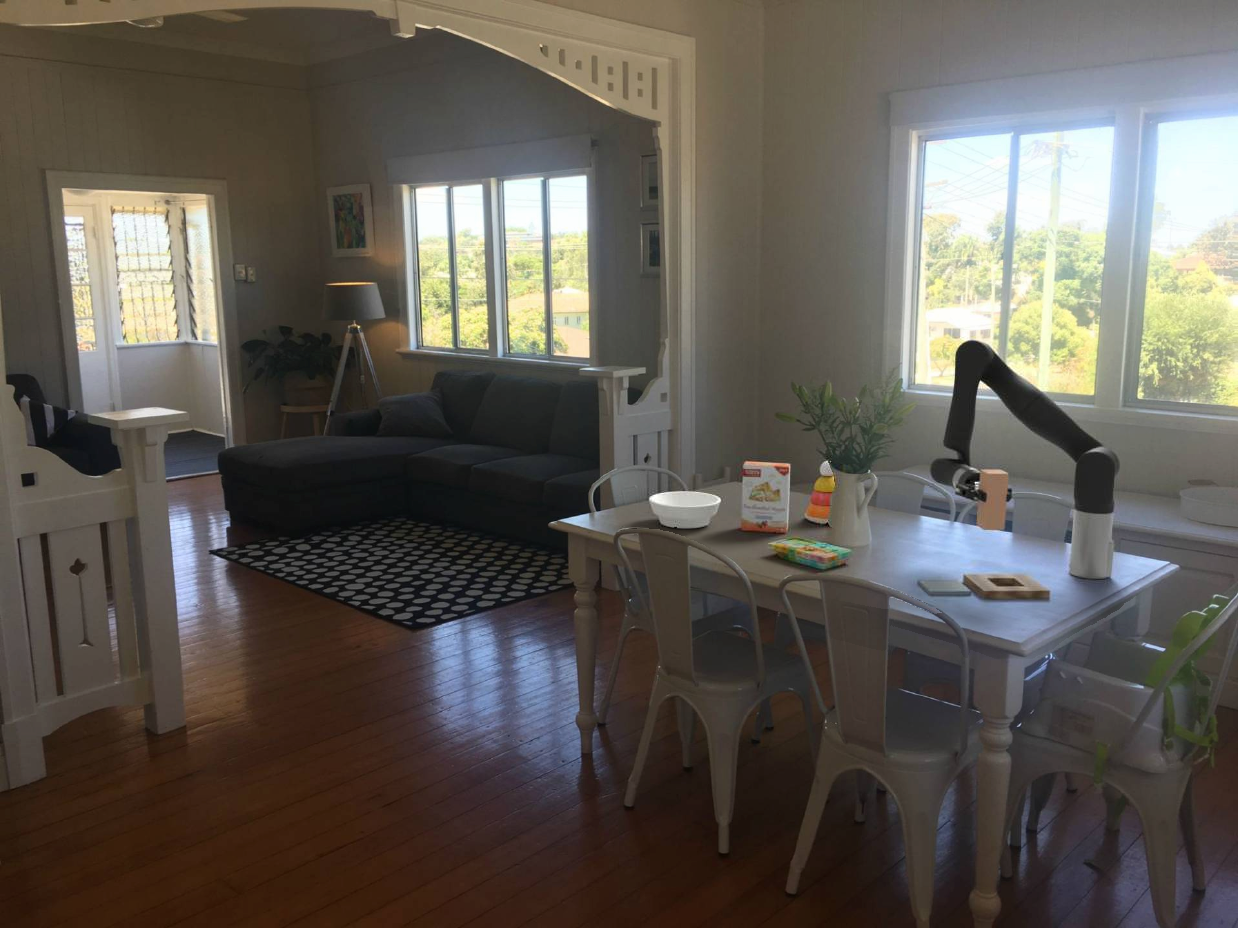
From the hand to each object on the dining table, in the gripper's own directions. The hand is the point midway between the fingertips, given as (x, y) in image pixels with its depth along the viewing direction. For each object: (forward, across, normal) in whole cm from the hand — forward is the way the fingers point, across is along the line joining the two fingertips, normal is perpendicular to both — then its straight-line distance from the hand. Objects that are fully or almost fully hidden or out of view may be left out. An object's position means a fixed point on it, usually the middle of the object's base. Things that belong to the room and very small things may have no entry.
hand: (996, 497), depth 243 cm
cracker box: (-63, -46, +24) cm, 81 cm away
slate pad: (-3, -10, +24) cm, 26 cm away
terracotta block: (-3, 0, +8) cm, 8 cm away
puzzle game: (-30, -39, +25) cm, 55 cm away
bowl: (-70, -70, +25) cm, 102 cm away
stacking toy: (-75, -24, +25) cm, 82 cm away
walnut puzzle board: (-2, +5, +24) cm, 24 cm away
